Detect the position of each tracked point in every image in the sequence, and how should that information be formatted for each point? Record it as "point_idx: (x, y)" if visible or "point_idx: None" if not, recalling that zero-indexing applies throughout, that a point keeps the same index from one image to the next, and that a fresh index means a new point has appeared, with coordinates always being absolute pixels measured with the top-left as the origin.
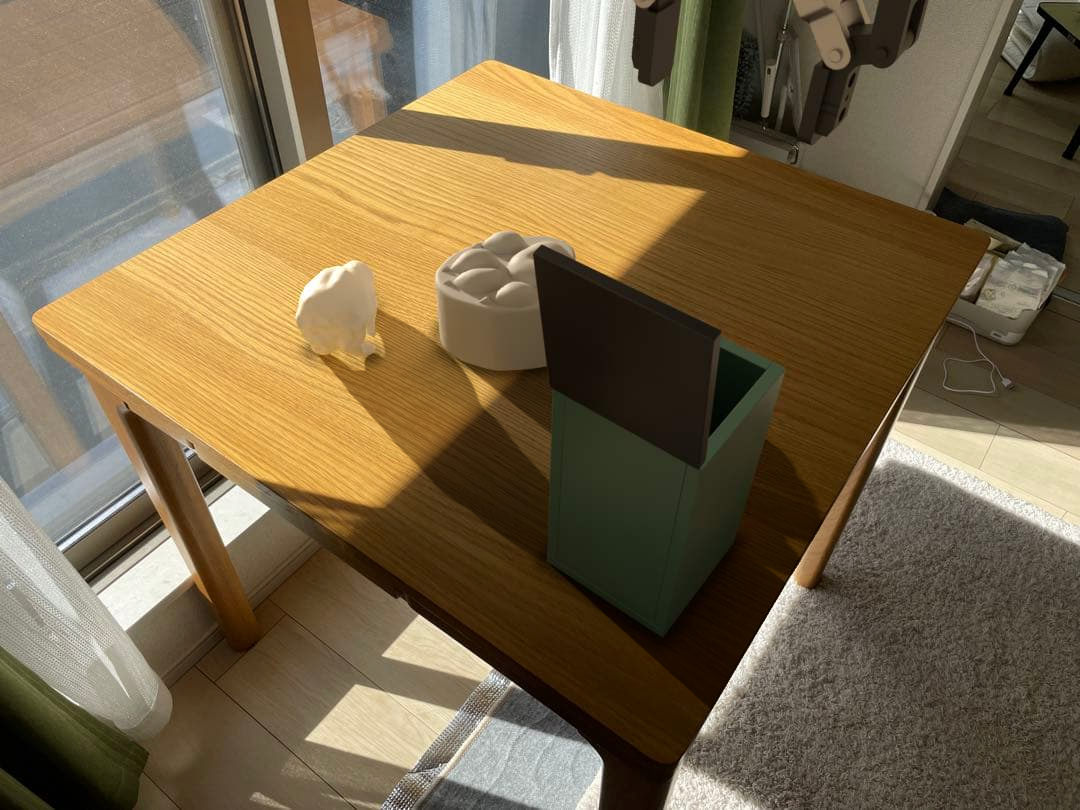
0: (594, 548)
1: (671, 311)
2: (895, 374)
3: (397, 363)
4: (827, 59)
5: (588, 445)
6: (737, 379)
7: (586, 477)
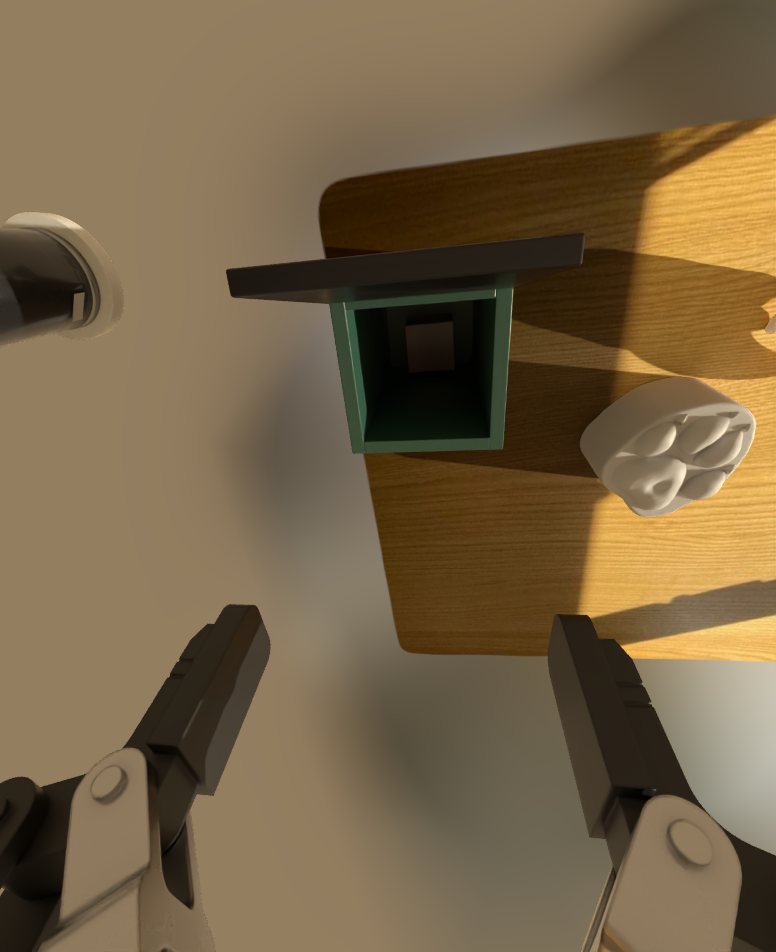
0: None
1: (307, 280)
2: (383, 546)
3: (732, 334)
4: (132, 768)
5: None
6: (390, 429)
7: None
